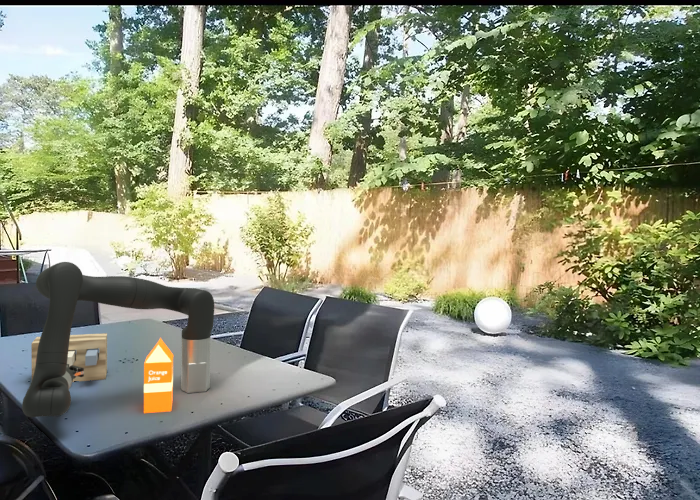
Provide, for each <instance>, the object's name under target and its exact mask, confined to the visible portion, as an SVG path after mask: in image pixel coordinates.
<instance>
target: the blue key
mask: <svg viewBox="0 0 700 500" xmlns="http://www.w3.org/2000/svg"><path fill="white" fill-rule="evenodd" d="M98 355H99V348H96V349H88V350H87V353H86V356H85V366H89V365H96V364H97V360H98Z"/></svg>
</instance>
